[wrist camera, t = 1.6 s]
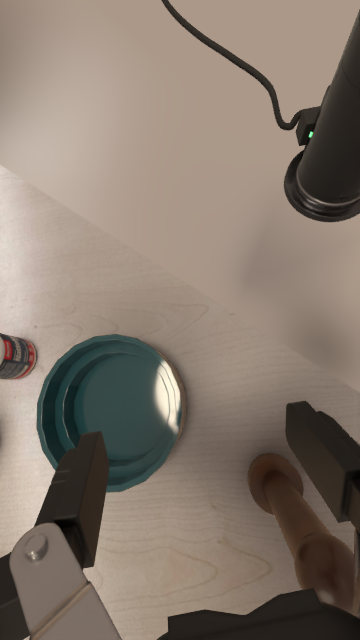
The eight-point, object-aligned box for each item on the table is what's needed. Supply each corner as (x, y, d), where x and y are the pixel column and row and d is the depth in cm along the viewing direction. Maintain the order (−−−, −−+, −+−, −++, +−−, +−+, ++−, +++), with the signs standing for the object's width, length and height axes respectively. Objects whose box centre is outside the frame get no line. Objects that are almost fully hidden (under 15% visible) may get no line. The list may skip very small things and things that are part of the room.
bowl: (65, 349, 36) (39, 342, 30) (180, 336, 34) (174, 327, 29) (63, 478, 32) (33, 496, 27) (193, 470, 31) (188, 488, 25)
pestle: (244, 454, 30) (277, 534, 14) (292, 451, 30) (384, 530, 14) (251, 508, 29) (297, 662, 13) (302, 505, 29) (415, 662, 12)
